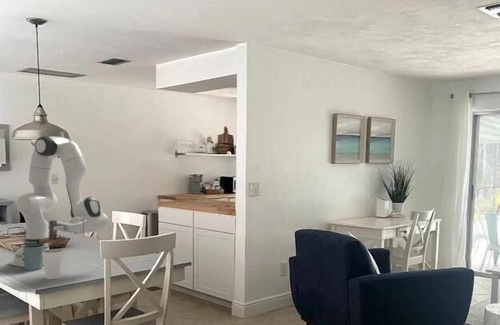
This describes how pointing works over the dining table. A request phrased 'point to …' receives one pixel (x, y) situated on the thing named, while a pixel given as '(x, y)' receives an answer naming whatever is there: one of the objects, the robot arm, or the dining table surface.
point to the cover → (52, 234)
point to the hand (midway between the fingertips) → (51, 228)
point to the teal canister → (33, 257)
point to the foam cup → (52, 263)
